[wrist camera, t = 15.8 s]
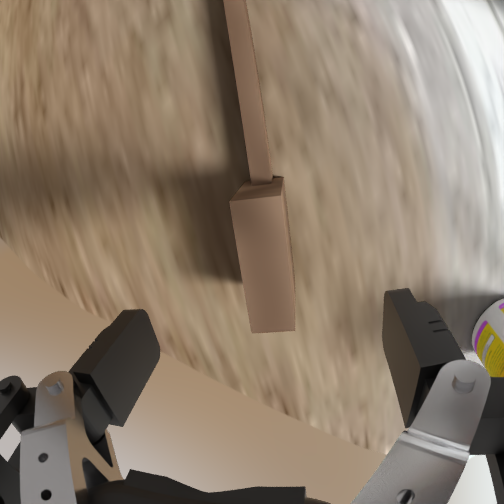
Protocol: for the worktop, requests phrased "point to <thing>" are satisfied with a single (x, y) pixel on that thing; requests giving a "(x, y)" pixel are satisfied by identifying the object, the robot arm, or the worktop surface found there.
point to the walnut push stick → (259, 197)
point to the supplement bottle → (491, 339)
